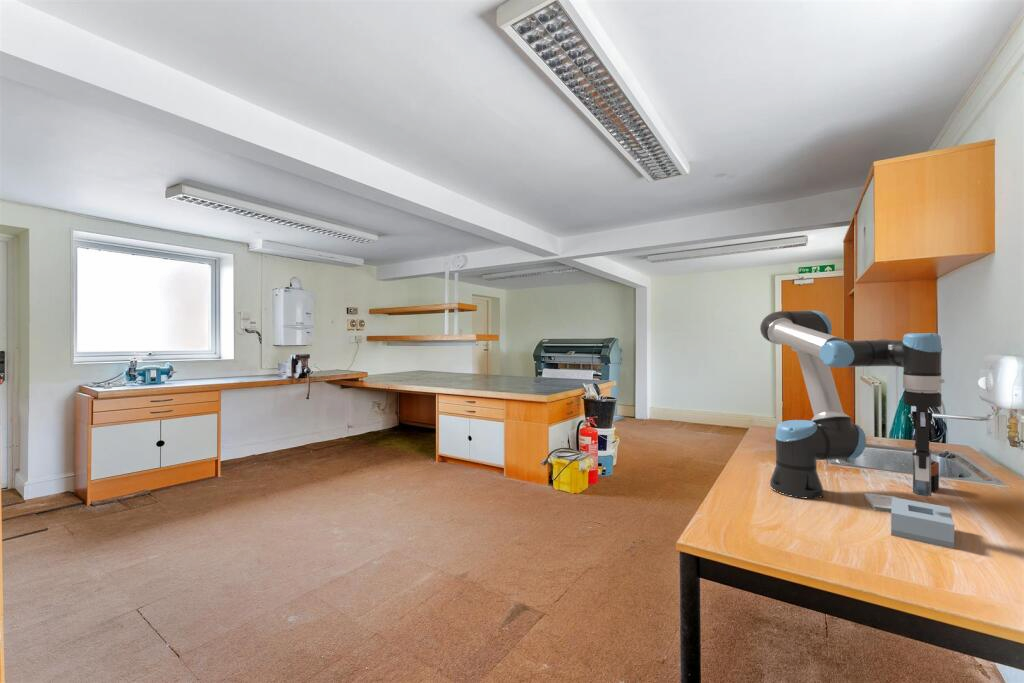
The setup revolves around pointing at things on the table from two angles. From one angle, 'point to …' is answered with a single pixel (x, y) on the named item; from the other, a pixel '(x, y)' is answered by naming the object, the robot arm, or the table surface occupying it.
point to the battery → (934, 476)
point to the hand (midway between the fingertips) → (921, 478)
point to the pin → (922, 486)
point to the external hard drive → (880, 501)
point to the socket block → (922, 522)
